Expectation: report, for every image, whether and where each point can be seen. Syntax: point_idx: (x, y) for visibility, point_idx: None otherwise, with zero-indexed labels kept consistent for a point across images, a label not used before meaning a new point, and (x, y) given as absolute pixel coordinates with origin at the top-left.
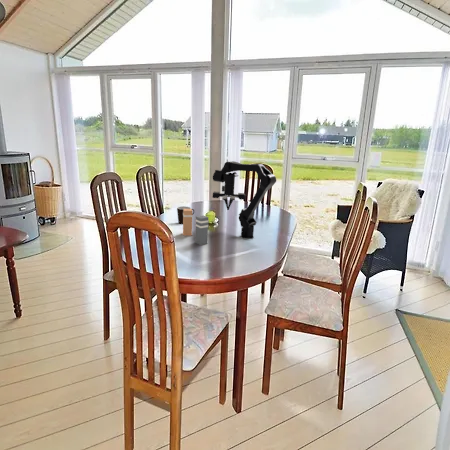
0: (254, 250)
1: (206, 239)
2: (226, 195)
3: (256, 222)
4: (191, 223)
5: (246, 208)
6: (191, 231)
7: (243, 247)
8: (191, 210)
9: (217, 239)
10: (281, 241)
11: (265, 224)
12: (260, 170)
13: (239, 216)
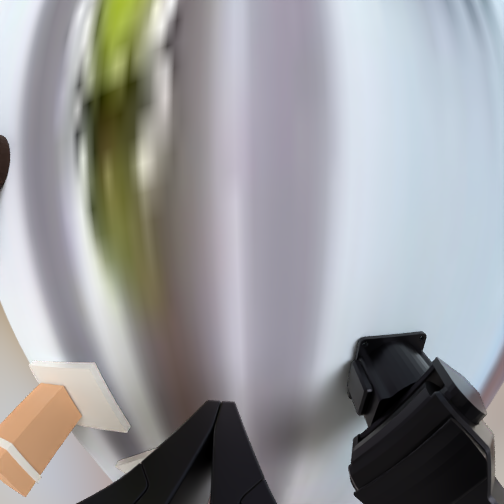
0: None
1: None
2: None
3: (477, 391)
4: (53, 453)
5: (461, 496)
6: (72, 427)
7: (321, 480)
8: (19, 492)
9: None
10: (496, 379)
11: (501, 78)
12: None
13: (357, 485)
